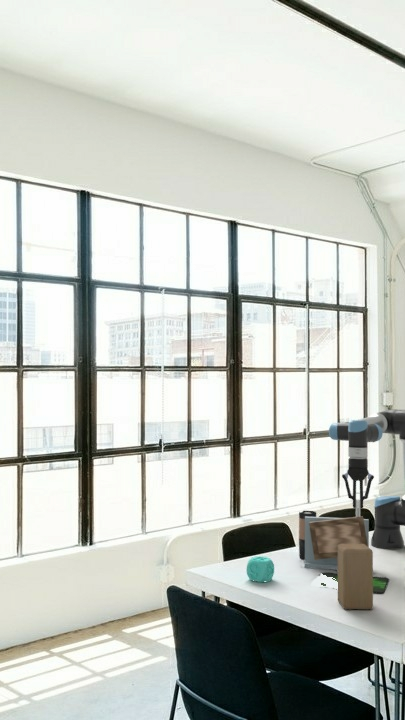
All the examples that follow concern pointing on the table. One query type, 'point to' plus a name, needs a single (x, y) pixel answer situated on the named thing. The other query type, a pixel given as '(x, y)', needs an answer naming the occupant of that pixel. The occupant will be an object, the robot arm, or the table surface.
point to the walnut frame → (336, 535)
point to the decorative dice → (260, 569)
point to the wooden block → (355, 576)
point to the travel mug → (303, 531)
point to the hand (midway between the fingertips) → (358, 516)
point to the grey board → (309, 555)
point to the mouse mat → (378, 582)
